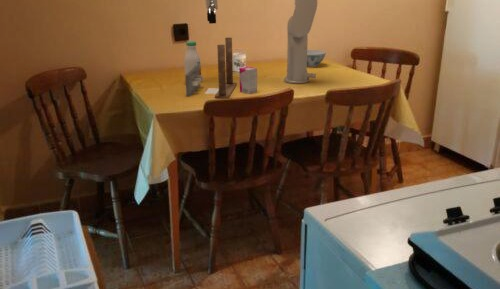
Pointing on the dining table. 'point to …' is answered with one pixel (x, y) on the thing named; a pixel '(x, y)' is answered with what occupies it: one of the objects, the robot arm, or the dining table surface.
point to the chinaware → (314, 57)
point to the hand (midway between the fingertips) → (211, 22)
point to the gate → (227, 79)
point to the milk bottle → (191, 58)
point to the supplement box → (248, 80)
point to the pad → (212, 91)
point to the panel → (192, 80)
